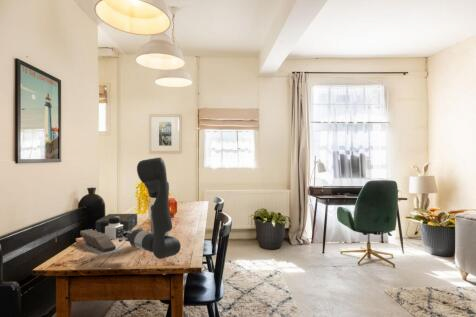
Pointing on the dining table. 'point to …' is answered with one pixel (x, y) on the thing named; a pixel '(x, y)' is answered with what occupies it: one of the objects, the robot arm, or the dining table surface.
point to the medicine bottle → (113, 228)
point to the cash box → (125, 219)
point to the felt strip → (100, 250)
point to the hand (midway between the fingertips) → (121, 232)
